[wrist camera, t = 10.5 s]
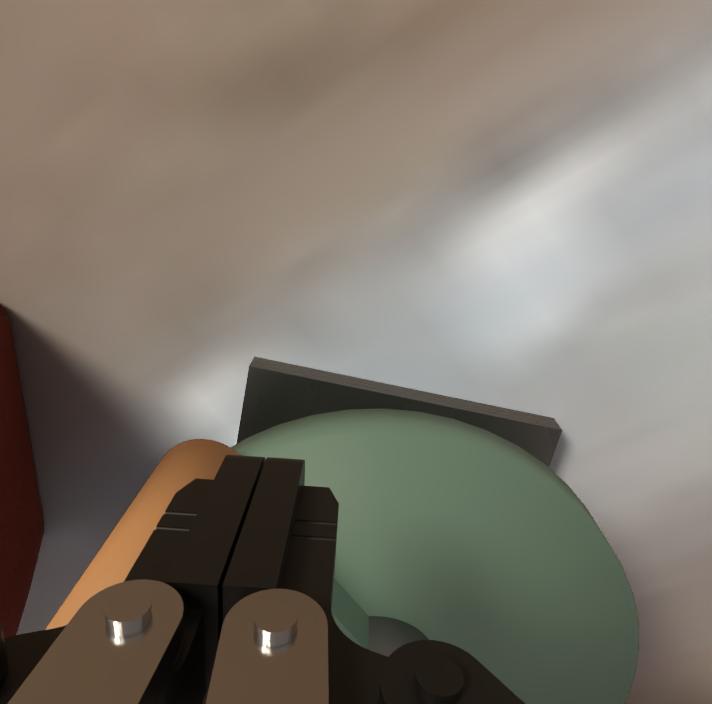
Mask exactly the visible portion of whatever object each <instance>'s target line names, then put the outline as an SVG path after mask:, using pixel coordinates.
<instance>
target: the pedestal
mask: <svg viewBox="0 0 712 704" xmlns="http://www.w3.org/2000/svg"><path fill="white" fill-rule="evenodd" d="M383 408H384V409H395V410H407V411H418V412H423V413H428V414H433V415H438V416H442V417H447V418H452V419H456V420H458V421H461V422H464V423H467V424H470V425H473V426H476V427H479V428H482V429H485V430H487V431H489V432H491V433H493V434H495V435H497V436H499V437H501V438H503V439H505V440H507V441H509V442H511V443H514V444H516V445H517V446H519V447H520V448H522V449H523V450H525V451H526V452H528V453H529V454H531V455H532V456H534V457H535V458H537V459H538V460H540V461H541V462H543V463H544V464H545V465H546V466H547V467H549V464H550V462H551V459H552V456H553V453H554V451H555V448H556V445H557V443H558V440H559V437H560V434H561V432H562V429H561V428H560V427H559V425H558V424H557V422H556V421H555V420H554V418H549V417H544V416H540V415H535V414H530V413H525V412H520V411H515V410H510V409H506V408H501V407H496V406H491V405H486V404H481V403H476V402H472V401H467V400H462V399H457V398H452V397H447V396H442V395H438V394H433V393H428V392H423V391H418V390H413V389H408V388H404V387H399V386H394V385H389V384H384V383H379V382H374V381H370V380H365V379H360V378H355V377H350V376H345V375H340V374H336V373H331V372H326V371H321V370H316V369H311V368H306V367H302V366H297V365H292V364H287V363H282V362H277V361H272V360H268V359H263V358H258V357H254V359H253V361H252V362H251V364H250V366H249V372H248V378H247V384H246V390H245V396H244V402H243V408H242V415H241V421H240V427H239V433H238V439H237V444H238V443H239V442H241V441H243V440H245V439H246V438H248V437H250V436H253V435H255V434H257V433H260V432H262V431H265V430H267V429H269V428H272V427H274V426H276V425H279V424H282V423H286V422H289V421H293V420H296V419H300V418H304V417H307V416H311V415H316V414H322V413H329V412H335V411H342V410H351V409H383Z"/></svg>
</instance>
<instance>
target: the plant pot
mask: <svg viewBox="0 0 712 704" xmlns="http://www.w3.org/2000/svg"><path fill="white" fill-rule="evenodd" d="M43 533H44V519H43V512H42V507H41V501H40V496H39V490H38V484H37V478H36V472H35V466H34V460H33V454H32V448H31V442H30V437H29V431H28V425H27V419H26V413H25V407H24V401H23V396H22V390H21V384H20V378H19V372H18V366H17V360H16V354H15V348H14V342H13V337H12V331H11V325H10V320H9V317H8V315H7V312H6V310H5V309H4V308H3V306H2V305H1V304H0V621H1V623H2V629H3V635H4V637H10V636H15V635H16V633H17V630H18V627H19V624H20V620H21V617H22V614H23V610H24V607H25V603H26V600H27V597H28V593H29V590H30V586H31V582H32V578H33V574H34V570H35V566H36V563H37V559H38V554H39V550H40V546H41V542H42V537H43Z"/></svg>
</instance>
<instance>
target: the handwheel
mask: <svg viewBox="0 0 712 704" xmlns="http://www.w3.org/2000/svg"><path fill="white" fill-rule="evenodd" d="M226 455H242V456H256V457H265V459H266V458H267V457H273V458H287V459H302V460H305V485H304V486H316V487H329V488H330V489H331V491H332V493H333V495H334V496H335V498H336V500H337V501H338V503H339V511H338V526H337V542H336V557H335V572H334V584H333V597H332V609H331V612H332V616H333V618H334V621H335V623H336V624H337V626H338V627H339V629H340V630H341V631H342V632H343V633H344V634H345V635H346V636H347V637H348V638H349V639H350V640H352V641H353V642H355V643H356V644H358V645H360V646H361V647H364V648H366V649H368V650H371V651H373V652H376V653H379V654H382V655H384V656H387V657H389V656H390V655H391V654H392V652H393V651H395V650H396V649H398V648H399V647H400V646H403V645H405V644H407V643H410V642H413V641H419V640H436V641H442V642H446V643H449V644H452V645H455V646H457V647H459V648H461V649H463V650H464V651H466V652H468V653H469V654H471V655H472V656H473V657H474V658H476V659H477V660H478V661H479V662H480V663H481V664H482V665H483V666H484V667H486V668H487V669H488V670H489V671H490V672H491V673H492V674H493V675H494V676H495V677H497V678H498V679H499V680H500V681H501V682H502V683H503V684H504V685H505V686H506V687H507V688H509V689H510V690H511V691H512V692H513V693H514V694H515V695H516V696H517V697H518V698H520V699H521V700H522V701H523V702H524V703H525V704H625V702H626V701H627V698H628V694H629V691H630V688H631V685H632V682H633V679H634V676H635V671H636V664H637V657H638V651H639V632H638V617H637V612H636V607H635V602H634V597H633V593H632V590H631V588H630V585H629V582H628V580H627V577H626V575H625V572H624V569H623V567H622V565H621V563H620V562H619V560H618V558H617V557H616V555H615V553H614V551H613V550H612V548H611V546H610V545H609V543H608V541H607V540H606V538H605V536H604V535H603V533H602V532H601V530H600V528H599V527H598V525H597V524H596V522H595V521H594V519H593V517H592V516H591V514H590V513H589V511H588V509H587V508H586V507H585V505H584V504H583V503H582V502H581V500H580V499H579V498H578V497H577V496H576V494H575V493H574V492H573V491H572V490H571V488H570V487H569V486H568V485H567V484H566V483H565V482H564V481H563V480H562V479H561V478H560V477H559V476H557V475H556V474H555V473H554V472H553V471H552V470H551V469H550V468H549V467H547V466H546V465H545V464H544V463H543V462H541V461H540V460H538V459H537V458H535V457H534V456H532V455H531V454H529V453H528V452H526V451H525V450H523V449H522V448H520V447H519V446H517V445H516V444H514V443H511V442H509V441H507V440H505V439H503V438H501V437H499V436H497V435H495V434H493V433H491V432H489V431H487V430H485V429H482V428H479V427H476V426H473V425H470V424H467V423H464V422H461V421H458V420H456V419H452V418H447V417H442V416H438V415H433V414H428V413H423V412H418V411H407V410H395V409H384V408H383V409H351V410H342V411H335V412H329V413H322V414H316V415H311V416H307V417H304V418H300V419H296V420H293V421H289V422H286V423H282V424H279V425H276V426H274V427H272V428H269V429H267V430H265V431H262V432H260V433H257V434H255V435H253V436H250V437H248V438H246V439H245V440H243V441H241V442H239V443H238V444H236V445H234V446H233V447H231V448H230V447H228V446H227V445H224V444H222V443H220V442H216V441H212V440H206V439H195V440H189V441H185V442H182V443H180V444H178V445H176V446H174V447H173V448H172V449H170V450H169V451H168V452H167V453H166V454H165V455H164V457H163V458H162V460H161V461H160V463H159V464H158V465H157V467H156V468H155V470H154V471H153V473H152V474H151V476H150V477H149V479H148V480H147V482H146V483H145V484H144V486H143V487H142V489H141V490H140V492H139V493H138V495H137V496H136V498H135V499H134V501H133V502H132V503H131V505H130V506H129V508H128V509H127V511H126V512H125V514H124V515H123V517H122V518H121V520H120V521H119V522H118V524H117V525H116V527H115V528H114V530H113V531H112V533H111V534H110V536H109V537H108V539H107V540H106V541H105V543H104V544H103V546H102V547H101V549H100V550H99V552H98V553H97V555H96V556H95V558H94V559H93V560H92V562H91V563H90V565H89V566H88V568H87V569H86V571H85V572H84V574H83V575H82V577H81V578H80V579H79V581H78V582H77V584H76V585H75V587H74V588H73V590H72V591H71V593H70V594H69V596H68V597H67V598H66V600H65V601H64V603H63V604H62V606H61V607H60V609H59V610H58V612H57V613H56V615H55V616H54V617H53V619H52V620H51V622H50V623H49V625H48V626H47V628H46V629H45V630H48V629H53V628H58V627H62V626H65V625H67V624H68V623H69V622H70V620H71V619H72V618H73V616H74V615H75V614H76V612H77V611H78V610H79V609H80V607H81V606H82V605H83V604H84V603H85V602H86V601H87V600H88V599H90V598H91V597H92V596H94V595H95V594H97V593H98V592H100V591H102V590H104V589H105V588H107V587H110V586H112V585H115V584H118V583H122V582H124V580H125V579H126V577H127V575H128V573H129V572H130V570H131V568H132V567H133V565H134V563H135V562H136V560H137V558H138V556H139V555H140V553H141V551H142V550H143V548H144V546H145V544H146V543H147V541H148V539H149V538H150V536H151V534H152V533H153V531H154V530H156V527H157V524H158V522H159V521H160V519H161V517H162V515H163V514H165V510H166V509H167V507H168V505H169V503H170V502H171V500H172V498H173V497H174V495H175V493H176V492H178V491H179V490H180V489H182V488H183V487H184V486H186V485H187V484H189V483H190V482H191V481H193V480H194V479H196V478H197V479H212V480H214V478H215V476H216V474H217V472H218V470H219V468H220V466H221V464H222V462H223V460H224V458H225V456H226Z"/></svg>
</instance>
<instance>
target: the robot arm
mask: <svg viewBox="0 0 712 704" xmlns="http://www.w3.org/2000/svg"><path fill="white" fill-rule="evenodd" d="M304 485H305V460H302V459H287V458H273V457H267V458H266V459H265V457H256V456H242V455H226V456H225V458H224V460H223V462H222V464H221V466H220V468H219V470H218V472H217V474H216V476H215V478H214V480H212V479H197V478H196V479H194V480H193V481H191V482H190V483H189V484H187V485H186V486H184V487H183V488H182V489H180V490H179V491H178V492H176V493H175V495H174V497H173V498H172V500H171V502H170V503H169V505H168V507H167V509H166V510H165V514H163V515H162V517H161V519H160V521H159V522H158V524H157V527H156V530H154V531H153V533H152V534H151V536H150V538H149V539H148V541H147V543H146V544H145V546H144V548H143V550H142V551H141V553H140V555H139V556H138V558H137V560H136V562H135V563H134V565H133V567H132V568H131V570H130V572H129V573H128V575H127V577H126V579H125V580H124V582H122V583H118V584H115V585H112V586H110V587H107V588H105V589H104V590H102V591H100V592H98V593H97V594H95V595H94V596H92V597H91V598H90V599H88V600H87V601H86V602H85V603H84V604H83V605H82V606H81V607H80V609H79V610H78V611H77V612H76V614H75V615H74V616H73V618H72V619H71V620H70V622H69V623H68V624H67V625H65V626H62V627H58V628H53V629H48V630H43V631H37V632H32V633H26V634H21V635H15V636H10V637H4V635H3V629H2V623H1V621H0V704H525V703H524V702H523V701H522V700H521V699H520V698H518V697H517V696H516V695H515V694H514V693H513V692H512V691H511V690H510V689H509V688H507V687H506V686H505V685H504V684H503V683H502V682H501V681H500V680H499V679H498V678H497V677H495V676H494V675H493V674H492V673H491V672H490V671H489V670H488V669H487V668H486V667H484V666H483V665H482V664H481V663H480V662H479V661H478V660H477V659H476V658H474V657H473V656H472V655H471V654H469V653H468V652H466V651H464V650H463V649H461V648H459V647H457V646H455V645H452V644H449V643H446V642H442V641H436V640H419V641H413V642H410V643H407V644H405V645H403V646H400V647H399V648H398V649H396V650H395V651H393V652H392V654H391V655H390V656H389V657H387V656H384V655H382V654H379V653H376V652H373V651H371V650H368V649H366V648H364V647H361V646H360V645H358V644H356V643H355V642H353V641H352V640H350V639H349V638H348V637H347V636H346V635H345V634H344V633H343V632H342V631H341V630H340V629H339V627H338V626H337V624H336V623H335V621H334V618H333V616H332V612H331V609H332V597H333V584H334V572H335V557H336V542H337V526H338V511H339V503H338V501H337V500H336V498H335V496H334V495H333V493H332V491H331V489H330V488H329V487H316V486H304Z"/></svg>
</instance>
